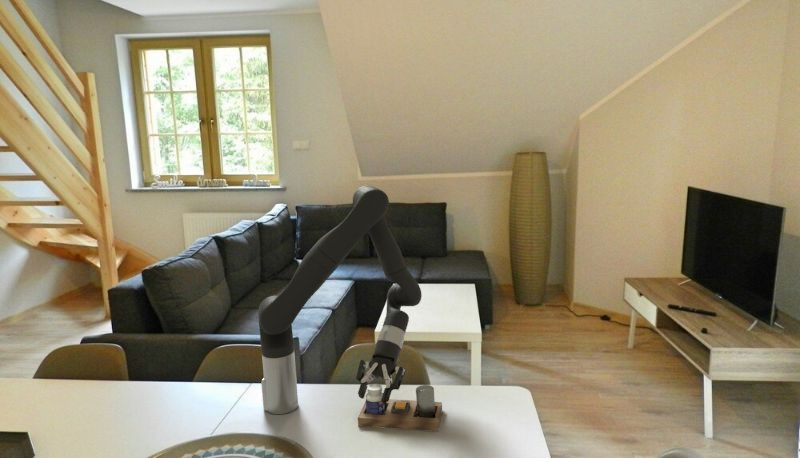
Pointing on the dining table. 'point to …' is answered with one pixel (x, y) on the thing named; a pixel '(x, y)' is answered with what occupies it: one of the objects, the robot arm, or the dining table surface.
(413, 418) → the wooden compartment tray
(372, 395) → the pill bottle
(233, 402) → the dining table surface
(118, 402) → the dining table surface
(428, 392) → the cylinder
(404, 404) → the button
